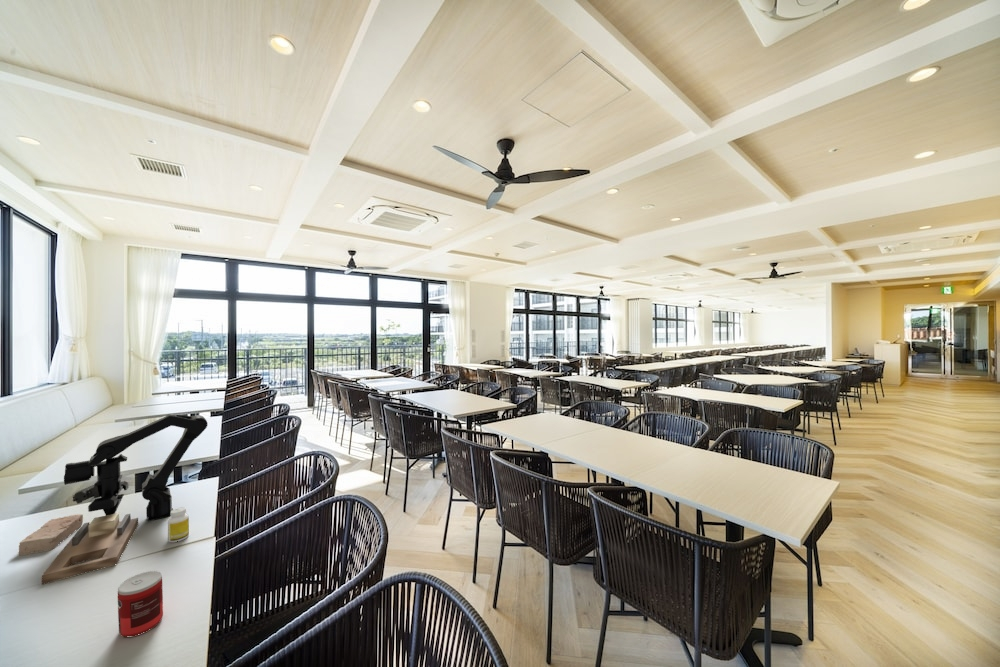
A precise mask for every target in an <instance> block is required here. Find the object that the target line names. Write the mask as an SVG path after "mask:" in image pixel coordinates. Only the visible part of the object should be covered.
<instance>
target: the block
mask: <svg viewBox="0 0 1000 667" xmlns="http://www.w3.org/2000/svg"><path fill="white" fill-rule="evenodd" d="M119 522H120V512H115V514H111V515H102V516H97V517H94V518H93V519H92V520H91V522H89V526H88V528H89V537H94V536H98V535H102V534H107V533H111V532H115V530H116V528H117V527H118V525H119Z"/></svg>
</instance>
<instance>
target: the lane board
mask: <svg viewBox="0 0 1000 667" xmlns="http://www.w3.org/2000/svg"><path fill="white" fill-rule="evenodd" d="M89 524H90V522H85V523H82V525H81V526H80V527H79V528H78V529H77V530H76V531H77V532H75V534H74V535H73V536H72V538H71V539H70V540H69V541H68V542H67V543H66V544H65V546H64V547H63V548H62V549H61V551H60V552H59V554H58V555H57V556H56V557H55V558H54V559H53V561H52V562H51V563H50V564H49V566H47V568H46V569H45V571H44V572H43V573H42V574H41V585H45V584H49V583H52V582H56V581H60V580H63V579H64V580H65V579H68V578H71V577H75V576H74V575H76V576H78V574H80V575H82V574H81V573H83V574H86V573H85V572H87V573H90V572H89V571H91V572H94V571H93V570H95V571H98V570H97V569H99V570H102V569H105V568H104V567H106V568H109V567H108V566H110V567H113V566H112V565H114V566H116V565H115V564H117V565H118V563H119V562H120V560H119V559H121V558H122V556H123V554H124V552H125V551H126V549H125V548H127V547H126V546H128V545H129V543H130V541H131V539H132V537H133V536H134V534H133V533H135V532H136V530H137V528H138V526H139V518H138V517H136V518H131V513H127V514H124V517H123V519H122V520H121V521H119V525H118V527H117V528H116V530H115V532H111V533H107V534H102V535H98V536H94V537H89V528H88V526H89ZM137 525H138V526H137ZM136 527H137V528H136ZM135 529H136V530H135ZM134 531H135V532H134ZM131 536H132V537H131ZM130 538H131V539H130ZM129 540H130V541H129ZM128 542H129V543H128ZM127 544H128V545H127ZM122 553H123V554H122ZM121 555H122V556H121ZM120 557H121V558H120ZM83 561H84V562H83ZM118 561H119V562H118ZM101 568H102V569H101ZM48 582H49V583H48ZM44 583H45V584H44Z"/></svg>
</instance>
